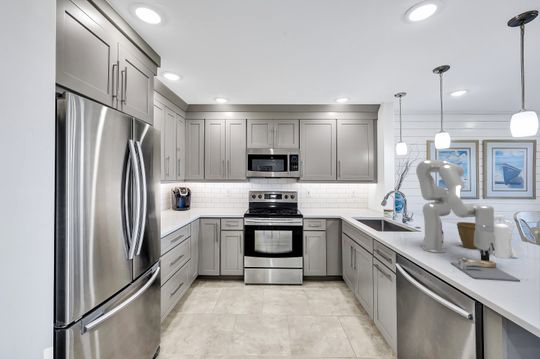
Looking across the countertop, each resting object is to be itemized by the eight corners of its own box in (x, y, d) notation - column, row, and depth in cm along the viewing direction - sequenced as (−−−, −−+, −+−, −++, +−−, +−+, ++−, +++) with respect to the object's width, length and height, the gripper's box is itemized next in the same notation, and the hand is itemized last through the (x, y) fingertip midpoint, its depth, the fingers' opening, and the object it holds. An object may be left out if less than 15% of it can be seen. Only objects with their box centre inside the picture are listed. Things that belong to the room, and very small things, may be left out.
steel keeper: (460, 269, 123) (460, 261, 123) (479, 270, 121) (479, 262, 121) (463, 271, 120) (463, 263, 120) (482, 272, 118) (482, 264, 118)
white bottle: (521, 260, 134) (518, 216, 135) (492, 257, 140) (489, 215, 141) (516, 257, 140) (513, 215, 140) (489, 254, 146) (486, 214, 147)
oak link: (463, 265, 125) (463, 259, 125) (458, 263, 129) (458, 256, 129) (496, 267, 122) (496, 261, 122) (491, 264, 125) (490, 258, 125)
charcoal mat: (450, 263, 131) (450, 262, 131) (489, 265, 127) (489, 264, 127) (473, 278, 112) (473, 277, 112) (520, 281, 108) (520, 280, 108)
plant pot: (456, 248, 159) (456, 224, 159) (457, 243, 170) (457, 221, 170) (486, 252, 149) (486, 227, 149) (485, 246, 160) (485, 223, 160)
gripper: (467, 225, 135) (468, 257, 135) (486, 231, 121) (486, 266, 121) (483, 225, 134) (483, 257, 134) (503, 231, 119) (503, 267, 119)
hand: (485, 261), depth 127 cm, fingers closed
